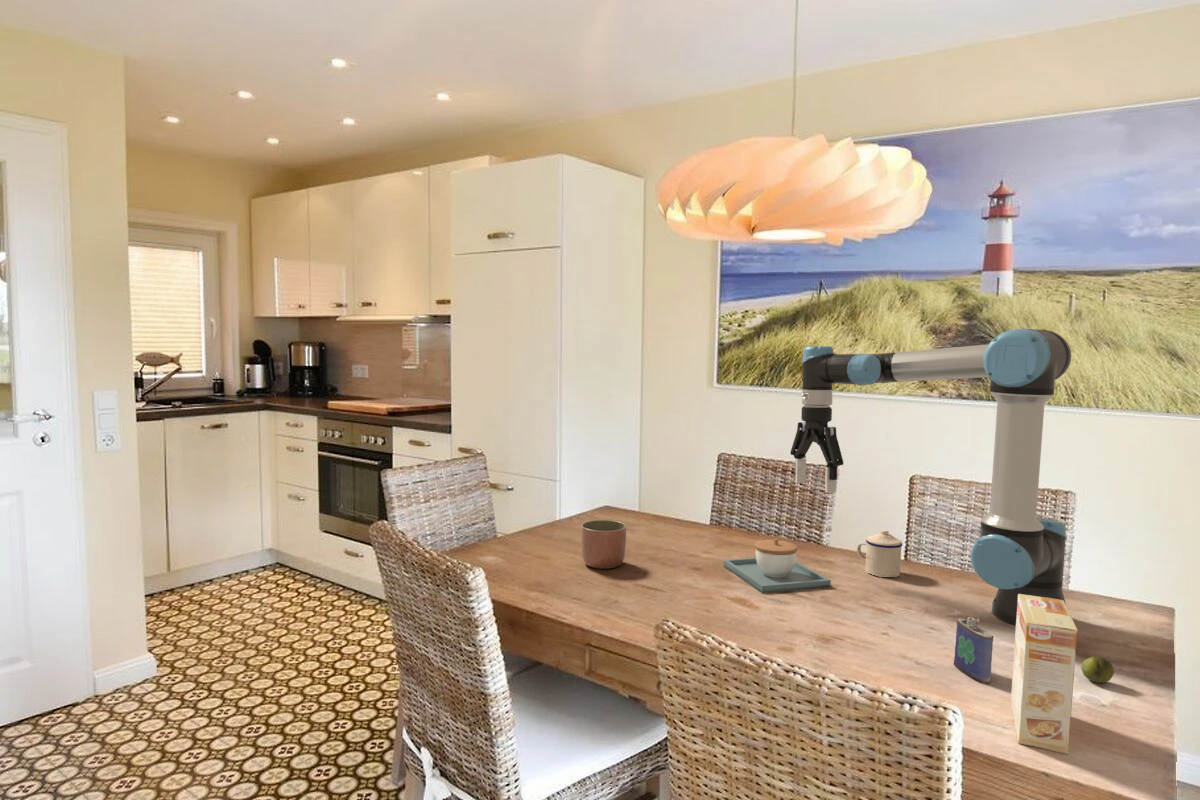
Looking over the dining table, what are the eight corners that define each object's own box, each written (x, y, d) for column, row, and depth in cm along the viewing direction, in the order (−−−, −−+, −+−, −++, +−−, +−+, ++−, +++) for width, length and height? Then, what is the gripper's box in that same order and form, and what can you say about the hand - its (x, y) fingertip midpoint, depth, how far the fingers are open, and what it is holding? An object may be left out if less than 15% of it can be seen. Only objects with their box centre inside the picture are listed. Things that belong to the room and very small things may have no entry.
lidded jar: (780, 566, 203) (781, 532, 202) (804, 578, 193) (806, 542, 192) (746, 570, 199) (747, 535, 198) (769, 582, 189) (770, 546, 188)
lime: (1076, 678, 139) (1078, 652, 139) (1097, 676, 140) (1099, 650, 140) (1097, 689, 135) (1099, 662, 134) (1119, 687, 136) (1121, 660, 135)
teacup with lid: (906, 573, 200) (909, 531, 199) (891, 581, 193) (893, 536, 192) (864, 563, 208) (866, 522, 207) (848, 570, 202) (850, 527, 201)
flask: (993, 684, 136) (997, 626, 135) (979, 684, 136) (982, 627, 135) (962, 662, 145) (965, 608, 144) (948, 663, 145) (951, 609, 144)
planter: (612, 574, 196) (612, 533, 195) (571, 566, 202) (572, 527, 201) (633, 562, 206) (634, 523, 205) (595, 555, 212) (595, 517, 212)
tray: (830, 587, 188) (830, 580, 188) (762, 593, 183) (762, 586, 183) (785, 561, 209) (786, 555, 209) (723, 566, 204) (723, 559, 204)
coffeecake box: (1070, 755, 113) (1079, 630, 111) (1016, 744, 116) (1024, 622, 114) (1057, 711, 127) (1065, 598, 125) (1009, 701, 130) (1016, 592, 128)
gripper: (778, 402, 204) (777, 480, 205) (832, 410, 180) (831, 497, 181) (802, 402, 206) (801, 478, 207) (859, 409, 182) (857, 495, 184)
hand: (815, 487), depth 194 cm, fingers open, 13 cm apart
